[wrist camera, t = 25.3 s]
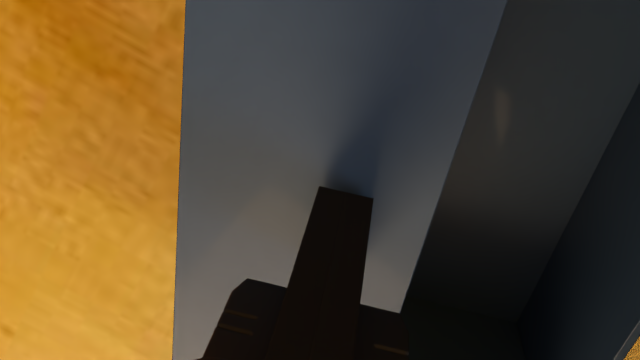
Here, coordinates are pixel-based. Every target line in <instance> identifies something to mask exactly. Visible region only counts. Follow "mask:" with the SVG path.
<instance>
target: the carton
mask: <svg viewBox="0 0 640 360" xmlns="http://www.w3.org/2000/svg"><path fill="white" fill-rule="evenodd" d="M400 314H401V316H402V318H403V321H404V323H405V325H406V327H407V329H408V331H409V354H408V356H409V360H623V359H624V358H625V356H626V355H627V354H628V352H629V351H630V349H631V348H632V346H633V345H634V343H635V342H636V341H637V339H638V338H639V336H640V0H508V1H507V4H506V7H505V10H504V13H503V15H502V18H501V21H500V24H499V27H498V30H497V33H496V36H495V39H494V42H493V44H492V47H491V50H490V53H489V56H488V59H487V62H486V65H485V68H484V71H483V74H482V76H481V79H480V82H479V85H478V88H477V91H476V94H475V97H474V100H473V103H472V105H471V108H470V111H469V114H468V117H467V120H466V123H465V126H464V129H463V132H462V134H461V137H460V140H459V143H458V146H457V149H456V152H455V155H454V158H453V161H452V163H451V166H450V169H449V172H448V175H447V178H446V181H445V184H444V187H443V190H442V193H441V195H440V198H439V201H438V204H437V207H436V210H435V213H434V216H433V219H432V222H431V224H430V227H429V230H428V233H427V236H426V239H425V242H424V245H423V248H422V251H421V253H420V256H419V259H418V262H417V265H416V268H415V271H414V274H413V277H412V280H411V282H410V285H409V288H408V291H407V294H406V297H405V300H404V303H403V306H402V309H401V312H400Z"/></svg>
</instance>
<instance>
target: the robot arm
mask: <svg viewBox="0 0 640 360" xmlns="http://www.w3.org/2000/svg"><path fill="white" fill-rule="evenodd" d="M373 199H374V198H369V197H365V196H361V195H356V194H352V193H348V192H343V191H339V190H335V189H330V188H326V187H322V186H319V188H318V191H317V194H316V197H315V200H314V204H313V207H312V210H311V213H310V216H309V219H308V223H307V226H306V229H305V232H304V235H303V238H302V242H301V245H300V248H299V251H298V254H297V258H296V261H295V264H294V267H293V270H292V273H291V277H290V280H289V283H288V286H287V287H282V286H278V285H274V284H270V283H266V282H262V281H257V280H253V279H249V278H247V279H246V280H245V281H243V282H242V283H241V284H240V285H239V286H237V287H236V288H235V289H234V290H233V291H232V292H231V294H230V296H229V299H228V301H227V303H226V305H225V308H224V311H223V312H222V314H221V316H220V319H219V321H218V323H217V327H216V328H215V330H214V332H213V334H212V337H211V339H210V341H209V343H208V345H207V348H206V350H205V352H204V354H203V357H202V358H200V359H196V360H409V356H408V354H409V331H408V329H407V327H406V325H405V323H404V321H403V318H402V316H401V314H400V313H396V312H392V311H388V310H384V309H380V308H376V307H371V306H367V305H363V304H360V301H361V293H362V286H363V278H364V270H365V262H366V254H367V246H368V239H369V231H370V223H371V215H372V207H373Z"/></svg>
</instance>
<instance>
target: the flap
mask: <svg viewBox="0 0 640 360" xmlns="http://www.w3.org/2000/svg"><path fill="white" fill-rule="evenodd" d="M507 1H508V0H186V7H185V34H184V61H183V87H182V114H181V141H180V167H179V194H178V221H177V248H176V274H175V301H174V328H173V355H172V360H196V359H200V358H202V357H203V354H204V352H205V350H206V348H207V345H208V343H209V341H210V339H211V337H212V334H213V332H214V330H215V328H216V327H217V323H218V321H219V319H220V316H221V314H222V312H223V311H224V308H225V305H226V303H227V301H228V299H229V296H230V294H231V292H232V291H233V290H234V289H235V288H236V287H237V286H239V285H240V284H241V283H242V282H243V281H245V280H246V279H247V278H249V279H253V280H257V281H262V282H266V283H270V284H274V285H278V286H282V287H287V286H288V283H289V280H290V277H291V273H292V270H293V267H294V264H295V261H296V258H297V254H298V251H299V248H300V245H301V242H302V238H303V235H304V232H305V229H306V226H307V223H308V219H309V216H310V213H311V210H312V207H313V204H314V200H315V197H316V194H317V191H318V188H319V186H322V187H326V188H330V189H335V190H339V191H343V192H348V193H352V194H356V195H361V196H365V197H369V198H374V199H373V207H372V215H371V223H370V231H369V239H368V246H367V254H366V262H365V270H364V278H363V286H362V293H361V301H360V304H363V305H367V306H371V307H376V308H380V309H384V310H388V311H392V312H396V313H400V312H401V309H402V306H403V303H404V300H405V297H406V294H407V291H408V288H409V285H410V282H411V280H412V277H413V274H414V271H415V268H416V265H417V262H418V259H419V256H420V253H421V251H422V248H423V245H424V242H425V239H426V236H427V233H428V230H429V227H430V224H431V222H432V219H433V216H434V213H435V210H436V207H437V204H438V201H439V198H440V195H441V193H442V190H443V187H444V184H445V181H446V178H447V175H448V172H449V169H450V166H451V163H452V161H453V158H454V155H455V152H456V149H457V146H458V143H459V140H460V137H461V134H462V132H463V129H464V126H465V123H466V120H467V117H468V114H469V111H470V108H471V105H472V103H473V100H474V97H475V94H476V91H477V88H478V85H479V82H480V79H481V76H482V74H483V71H484V68H485V65H486V62H487V59H488V56H489V53H490V50H491V47H492V44H493V42H494V39H495V36H496V33H497V30H498V27H499V24H500V21H501V18H502V15H503V13H504V10H505V7H506V4H507Z"/></svg>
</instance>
